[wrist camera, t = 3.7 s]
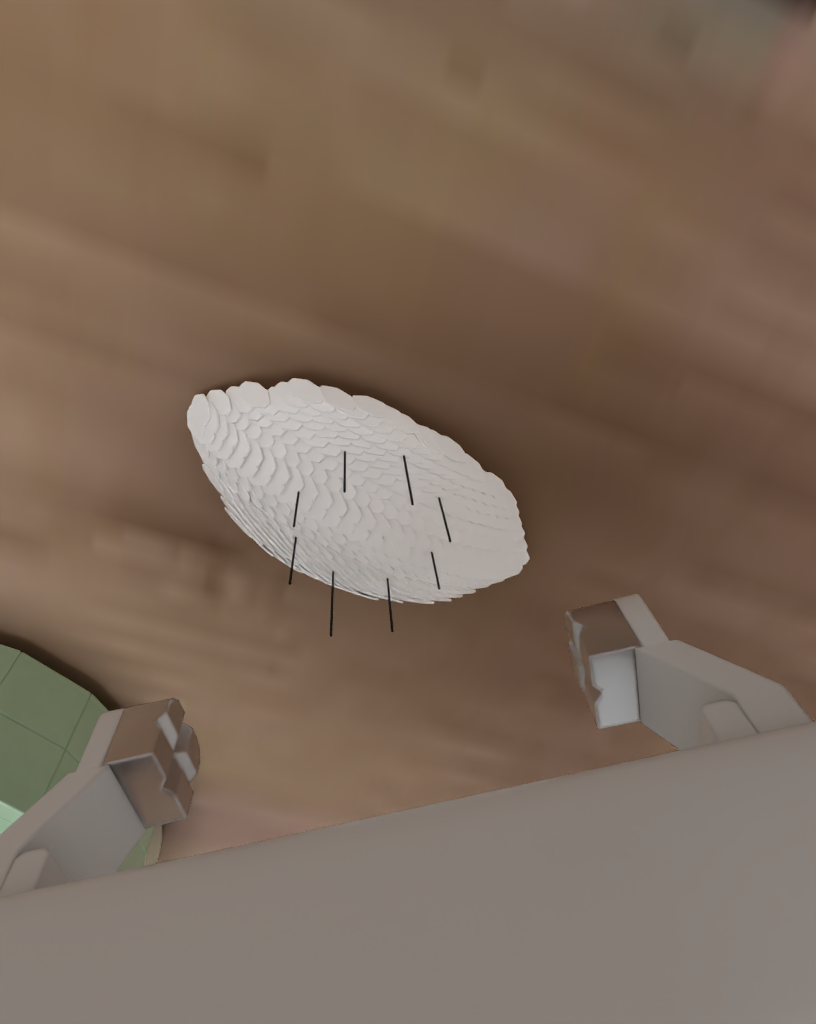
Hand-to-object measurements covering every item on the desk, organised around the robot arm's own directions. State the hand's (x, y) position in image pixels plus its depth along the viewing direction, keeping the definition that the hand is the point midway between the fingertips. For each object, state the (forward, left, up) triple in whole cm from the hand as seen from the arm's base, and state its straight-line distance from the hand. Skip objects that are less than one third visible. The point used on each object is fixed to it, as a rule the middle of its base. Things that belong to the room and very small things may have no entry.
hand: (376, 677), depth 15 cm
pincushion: (0, 0, -10) cm, 10 cm away
